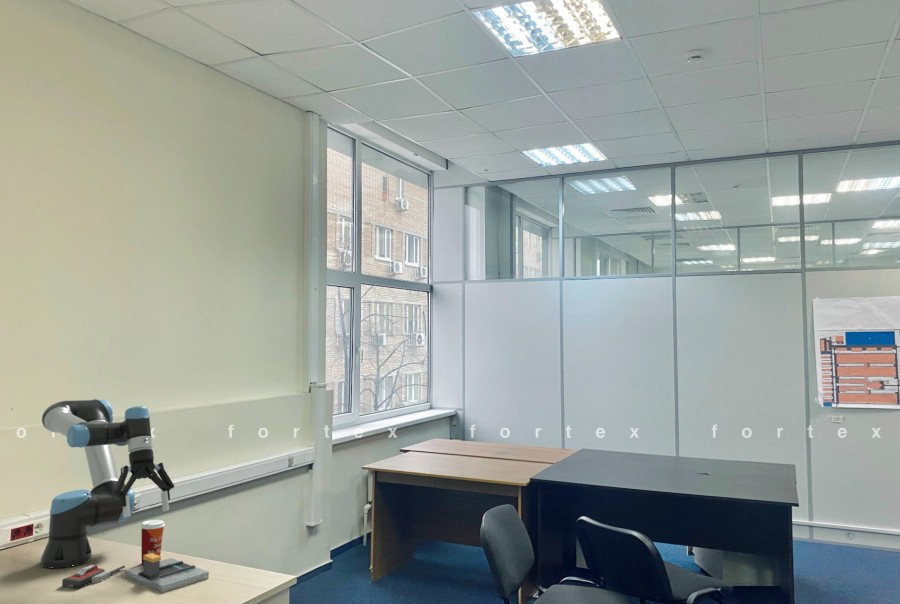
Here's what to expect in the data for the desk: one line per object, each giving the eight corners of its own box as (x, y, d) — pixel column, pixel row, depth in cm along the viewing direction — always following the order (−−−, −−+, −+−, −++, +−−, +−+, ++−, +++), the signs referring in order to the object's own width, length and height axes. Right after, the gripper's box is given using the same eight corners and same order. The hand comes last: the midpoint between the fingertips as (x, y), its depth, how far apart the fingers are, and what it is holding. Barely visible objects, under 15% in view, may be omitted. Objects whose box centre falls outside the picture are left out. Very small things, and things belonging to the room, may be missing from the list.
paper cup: (152, 568, 212) (155, 525, 213) (133, 565, 213) (135, 524, 214) (167, 560, 219) (170, 520, 221) (148, 558, 221) (151, 518, 222)
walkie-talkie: (81, 593, 190) (127, 571, 210) (82, 578, 190) (128, 557, 210) (56, 590, 192) (104, 568, 211) (57, 575, 192) (105, 555, 212)
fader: (142, 574, 199) (143, 555, 200) (150, 572, 202) (151, 553, 202) (151, 578, 196) (152, 558, 197) (159, 575, 199) (160, 556, 199)
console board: (125, 576, 203) (125, 568, 203) (171, 563, 216) (171, 556, 216) (161, 592, 190) (162, 583, 191) (208, 578, 203) (208, 569, 204)
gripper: (110, 450, 202) (115, 516, 195) (180, 446, 223) (187, 505, 216) (98, 456, 206) (103, 522, 199) (168, 452, 226) (175, 511, 219)
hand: (147, 513), depth 207 cm, fingers open, 13 cm apart
